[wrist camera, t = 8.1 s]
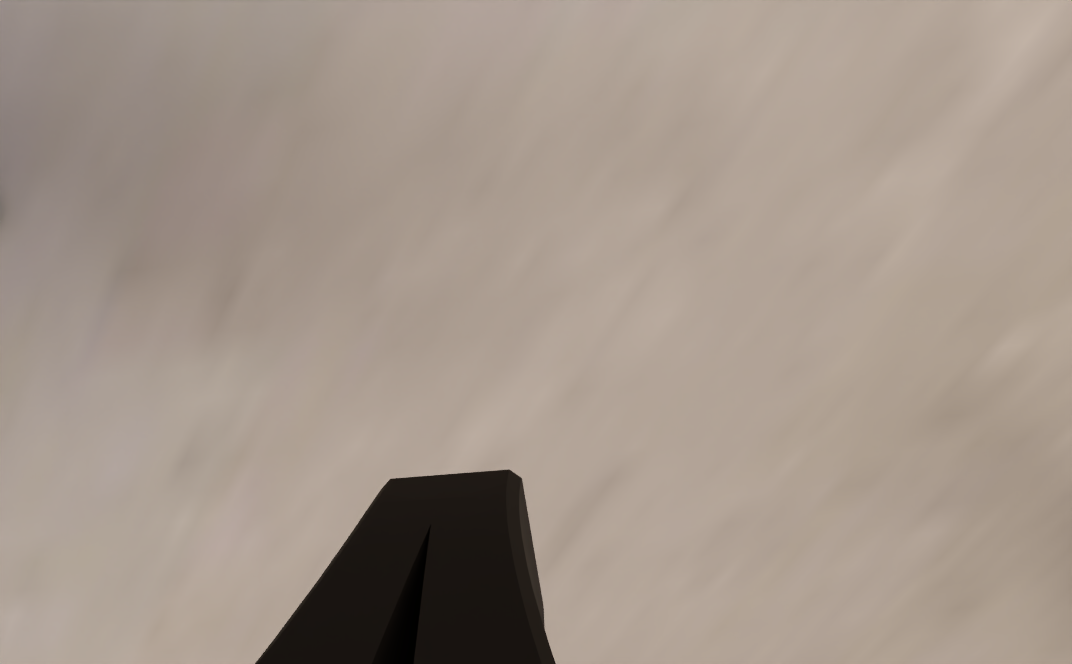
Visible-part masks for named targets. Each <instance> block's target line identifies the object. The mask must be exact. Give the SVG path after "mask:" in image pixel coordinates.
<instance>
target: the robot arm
mask: <svg viewBox="0 0 1072 664" xmlns="http://www.w3.org/2000/svg"><path fill="white" fill-rule="evenodd" d="M255 664H555V661H554V658H553V655H552V652H551V649H550V646H549V643H548V640H547V636H546V633H545V629H544V608H543V601H542V595H541V589H540V583H539V577H538V571H537V565H536V560H535V554H534V548H533V542H532V536H531V530H530V524H529V518H528V512H527V506H526V500H525V495H524V489H523V483H522V478H521V477H519V476H518V475H516V474H515V473H513V472H512V471H511V470H499V471H486V472H473V473H460V474H447V475H434V476H422V477H409V478H396V479H390V480H389V481H388V482H387V483H386V485H385V486H384V487H383V488H382V489H381V491H380V492H379V493H378V495H377V496H376V498H375V499H374V501H373V502H372V504H371V505H370V507H369V508H368V509H367V511H366V512H365V514H364V515H363V517H362V518H361V520H360V521H359V523H358V524H357V526H356V527H355V528H354V530H353V531H352V533H351V534H350V536H349V537H348V539H347V540H346V542H345V543H344V544H343V546H342V547H341V549H340V550H339V552H338V553H337V554H336V556H335V557H334V559H333V560H332V561H331V563H330V564H329V566H328V567H327V569H326V570H325V571H324V573H323V574H322V576H321V577H320V578H319V580H318V581H317V583H316V584H315V585H314V587H313V588H312V589H311V591H310V592H309V593H308V595H307V596H306V597H305V599H304V600H303V601H302V603H301V604H300V605H299V607H298V608H297V609H296V611H295V612H294V613H293V615H292V616H291V617H290V619H289V620H288V621H287V623H286V624H285V625H284V627H283V628H282V629H281V631H280V632H279V633H278V635H277V636H276V638H275V639H274V640H273V641H272V643H271V644H270V645H269V647H268V648H267V649H266V651H265V652H264V653H263V654H262V656H261V657H260V658H259V659H258V661H257V662H256V663H255Z"/></svg>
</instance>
